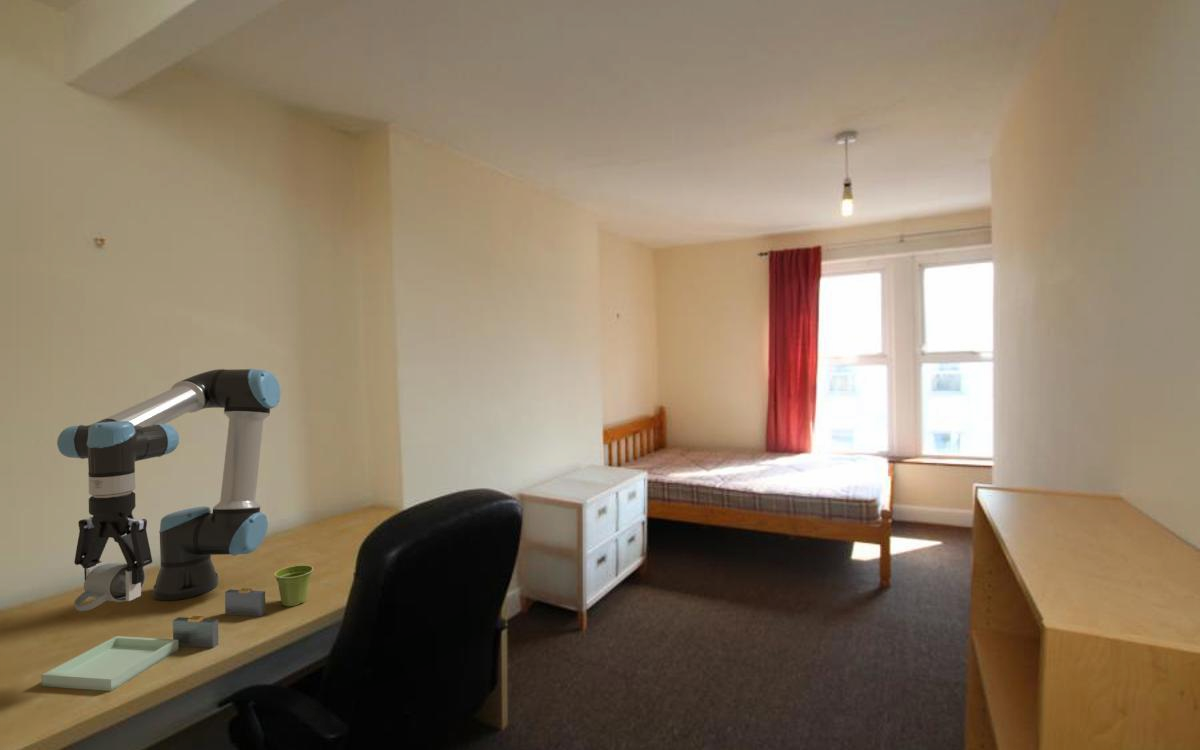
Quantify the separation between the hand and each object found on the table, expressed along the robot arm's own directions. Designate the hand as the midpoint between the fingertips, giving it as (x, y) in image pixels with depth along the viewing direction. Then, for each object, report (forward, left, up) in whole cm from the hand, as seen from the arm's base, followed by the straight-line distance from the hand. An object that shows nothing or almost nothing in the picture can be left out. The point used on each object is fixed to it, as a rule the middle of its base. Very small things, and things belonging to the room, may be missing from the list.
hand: (114, 597), depth 118 cm
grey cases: (+10, +18, -15) cm, 26 cm away
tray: (0, 0, -15) cm, 15 cm away
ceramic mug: (0, -1, 0) cm, 1 cm away
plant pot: (+18, +34, -16) cm, 41 cm away
